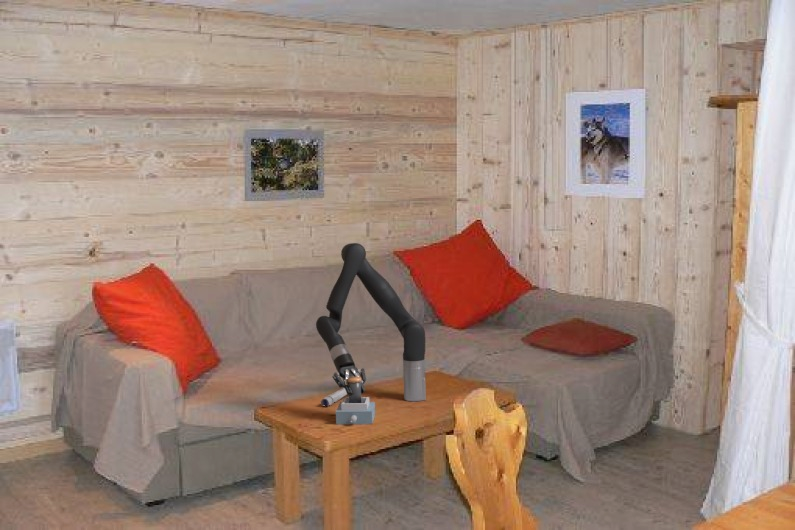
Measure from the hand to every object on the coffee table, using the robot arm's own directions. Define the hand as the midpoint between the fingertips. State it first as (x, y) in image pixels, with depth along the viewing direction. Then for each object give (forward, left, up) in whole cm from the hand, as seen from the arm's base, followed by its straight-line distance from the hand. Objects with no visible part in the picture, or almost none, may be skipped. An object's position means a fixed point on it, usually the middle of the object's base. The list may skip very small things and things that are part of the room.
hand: (357, 393), depth 350 cm
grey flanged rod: (+10, -31, -11) cm, 35 cm away
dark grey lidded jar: (+1, -2, -4) cm, 5 cm away
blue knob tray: (+1, 0, -11) cm, 11 cm away
